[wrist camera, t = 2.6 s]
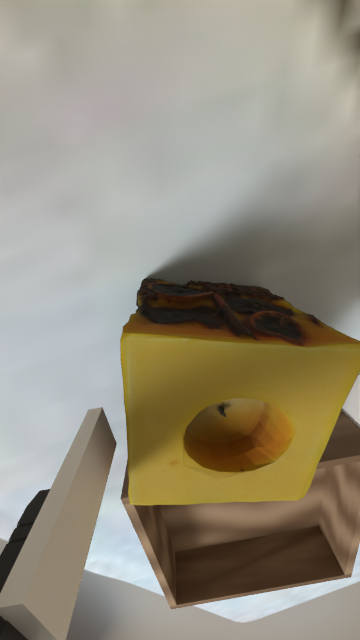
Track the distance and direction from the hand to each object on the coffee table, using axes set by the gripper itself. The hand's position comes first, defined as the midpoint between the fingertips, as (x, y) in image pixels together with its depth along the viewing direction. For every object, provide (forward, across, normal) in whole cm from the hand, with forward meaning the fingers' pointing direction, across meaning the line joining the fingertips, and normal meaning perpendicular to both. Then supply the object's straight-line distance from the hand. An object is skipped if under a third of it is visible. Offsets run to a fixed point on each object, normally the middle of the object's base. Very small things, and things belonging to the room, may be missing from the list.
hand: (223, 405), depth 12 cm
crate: (+8, +2, -20) cm, 22 cm away
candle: (+8, 0, 0) cm, 8 cm away
